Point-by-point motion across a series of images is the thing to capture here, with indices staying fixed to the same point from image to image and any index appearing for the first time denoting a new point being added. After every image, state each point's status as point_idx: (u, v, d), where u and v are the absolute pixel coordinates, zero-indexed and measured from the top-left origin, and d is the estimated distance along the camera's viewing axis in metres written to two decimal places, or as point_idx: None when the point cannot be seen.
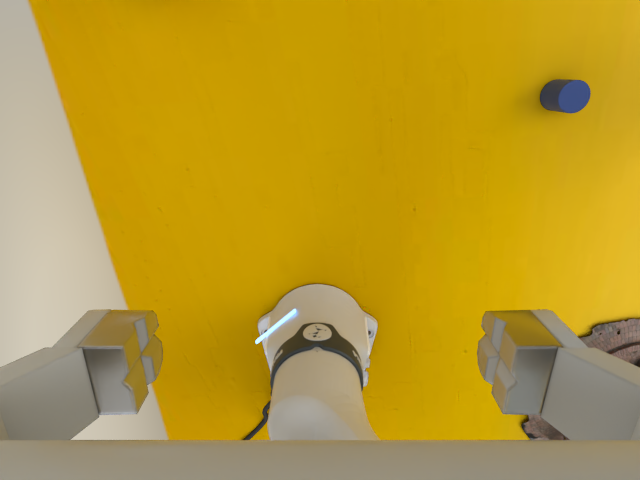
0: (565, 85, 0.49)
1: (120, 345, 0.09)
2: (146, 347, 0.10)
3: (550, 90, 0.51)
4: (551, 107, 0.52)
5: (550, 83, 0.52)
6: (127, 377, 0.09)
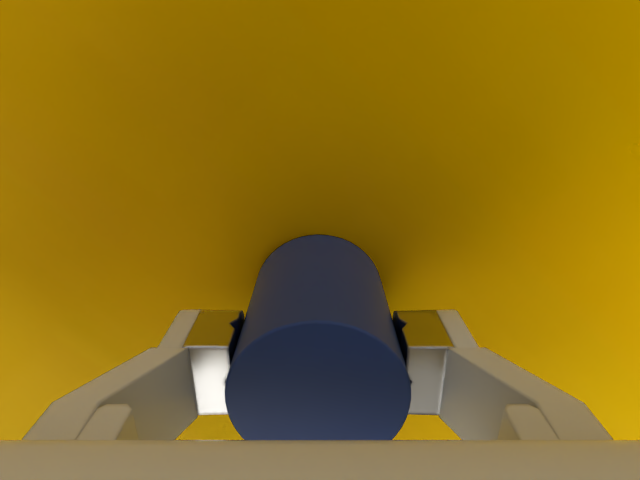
0: (409, 401, 0.08)
1: (226, 345, 0.09)
2: None
3: (388, 307, 0.10)
4: (319, 267, 0.10)
5: None
6: None
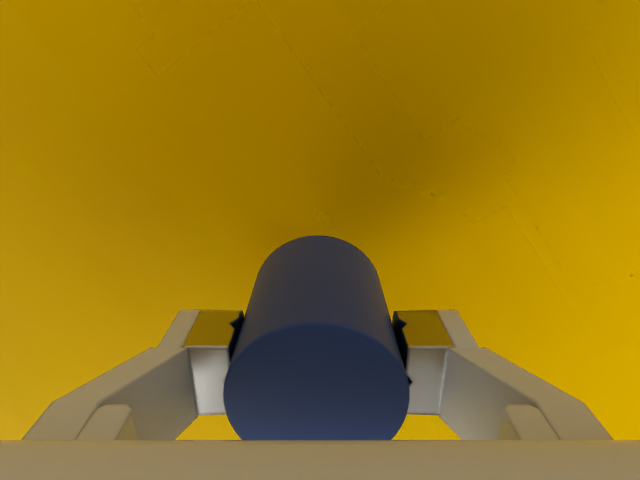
0: (408, 402, 0.08)
1: (225, 345, 0.09)
2: None
3: (387, 308, 0.10)
4: (318, 268, 0.10)
5: None
6: None
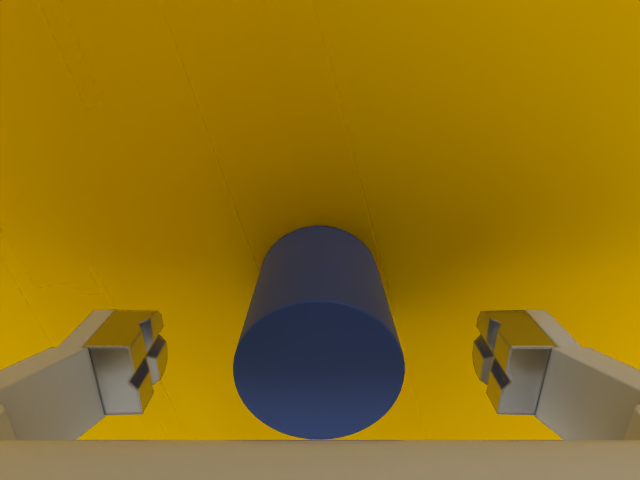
0: (403, 376, 0.09)
1: (127, 345, 0.09)
2: (151, 347, 0.10)
3: (384, 292, 0.11)
4: (320, 254, 0.10)
5: None
6: (133, 377, 0.09)
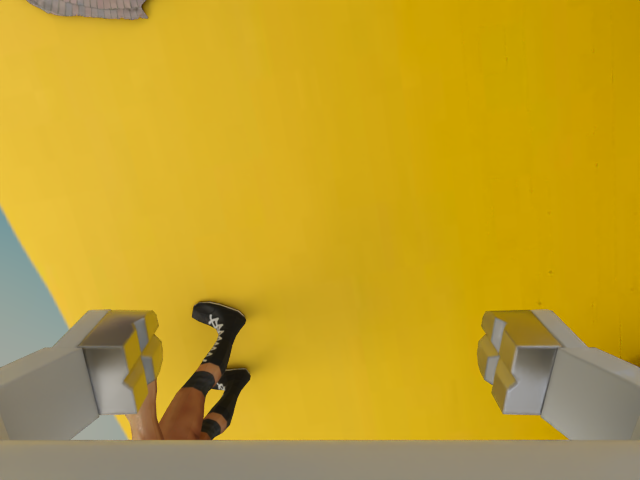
0: None
1: (120, 346, 0.08)
2: (146, 347, 0.10)
3: None
4: None
5: None
6: (127, 377, 0.09)
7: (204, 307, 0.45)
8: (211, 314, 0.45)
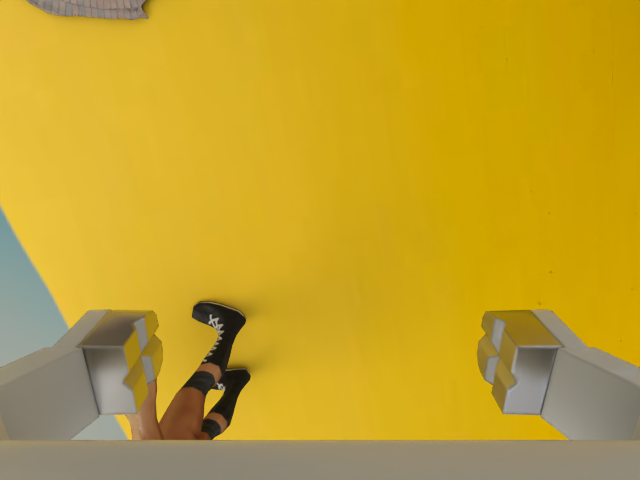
0: None
1: (120, 345, 0.09)
2: (146, 347, 0.10)
3: None
4: None
5: None
6: (127, 377, 0.09)
7: (204, 307, 0.45)
8: (211, 314, 0.45)
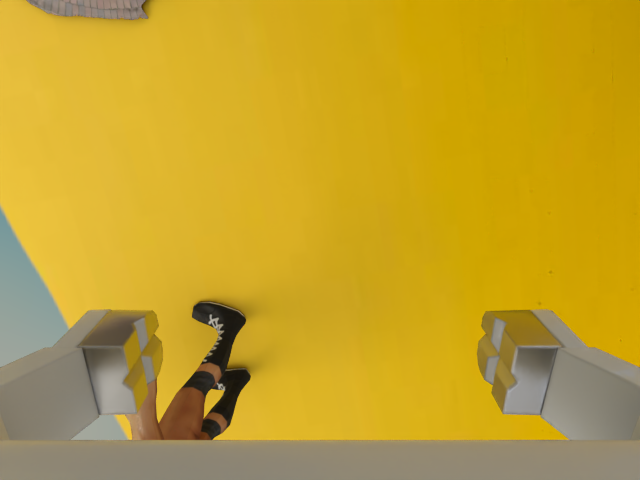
0: None
1: (120, 345, 0.09)
2: (146, 347, 0.10)
3: None
4: None
5: None
6: (127, 377, 0.09)
7: (204, 307, 0.45)
8: (211, 314, 0.45)
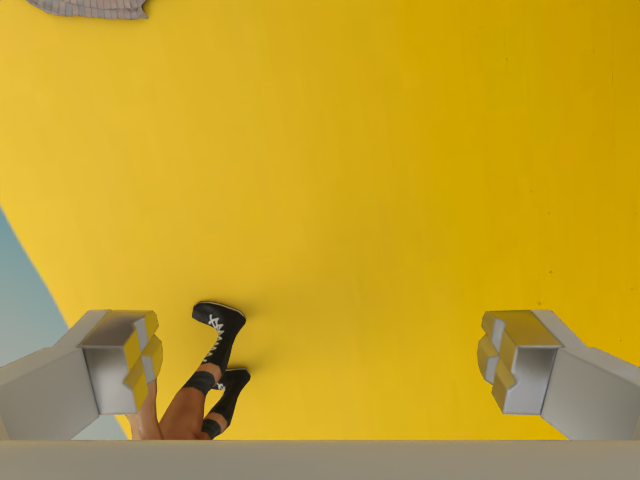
0: None
1: (120, 345, 0.09)
2: (146, 347, 0.10)
3: None
4: None
5: None
6: (127, 377, 0.09)
7: (204, 307, 0.45)
8: (211, 315, 0.45)
